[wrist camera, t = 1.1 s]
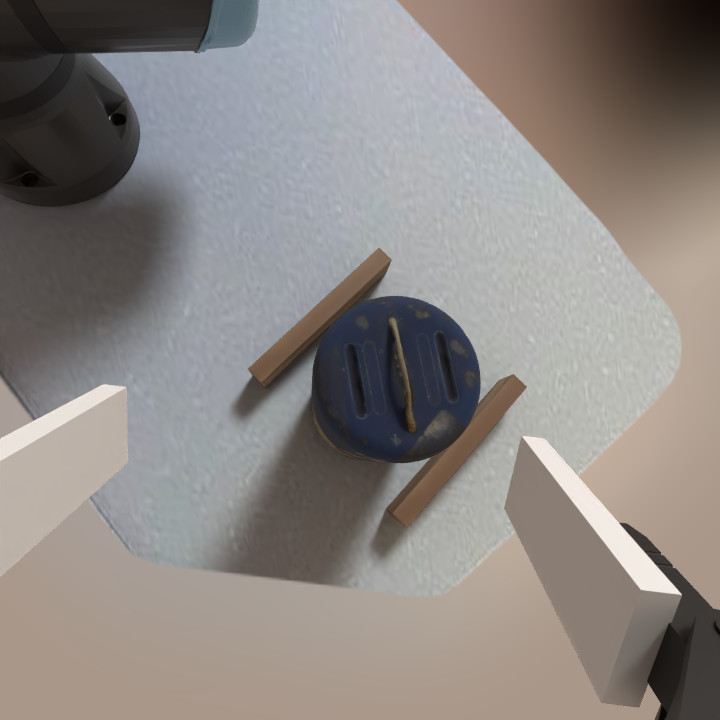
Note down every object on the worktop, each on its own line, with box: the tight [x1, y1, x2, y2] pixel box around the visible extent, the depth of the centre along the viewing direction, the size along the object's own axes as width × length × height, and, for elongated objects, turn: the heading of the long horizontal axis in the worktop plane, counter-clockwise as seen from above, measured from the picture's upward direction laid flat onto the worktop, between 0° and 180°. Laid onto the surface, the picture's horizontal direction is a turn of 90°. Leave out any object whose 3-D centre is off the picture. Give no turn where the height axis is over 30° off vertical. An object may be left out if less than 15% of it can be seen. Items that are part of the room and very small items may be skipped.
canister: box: [312, 296, 480, 463], centre depth 31 cm, size 10×10×18 cm
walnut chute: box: [248, 248, 527, 527], centre depth 39 cm, size 18×16×3 cm
